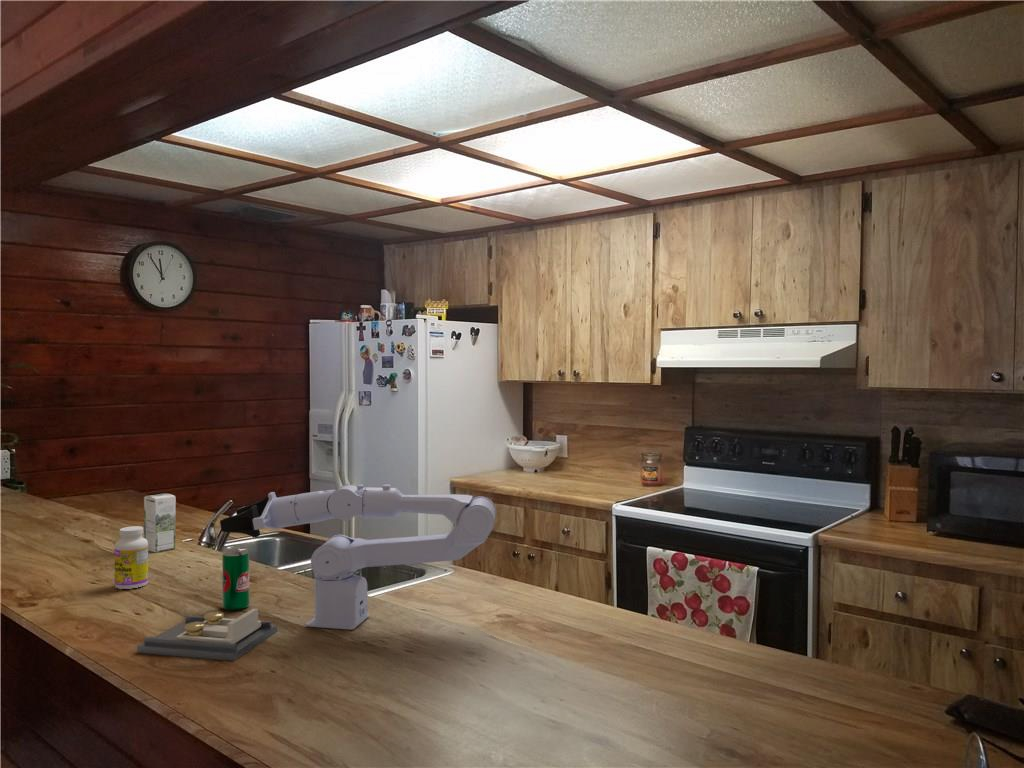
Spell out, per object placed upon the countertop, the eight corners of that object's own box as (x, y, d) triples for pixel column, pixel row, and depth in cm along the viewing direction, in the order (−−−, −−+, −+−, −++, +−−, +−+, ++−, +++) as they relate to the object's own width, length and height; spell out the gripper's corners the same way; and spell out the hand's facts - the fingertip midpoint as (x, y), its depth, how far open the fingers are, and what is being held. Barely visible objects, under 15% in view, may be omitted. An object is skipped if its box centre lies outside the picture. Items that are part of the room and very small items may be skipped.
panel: (261, 626, 134) (261, 607, 134) (229, 646, 124) (229, 625, 124) (211, 622, 136) (211, 603, 136) (176, 642, 126) (176, 621, 126)
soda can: (240, 612, 146) (240, 551, 146) (217, 610, 147) (217, 550, 147) (254, 604, 151) (254, 545, 151) (232, 603, 152) (231, 544, 152)
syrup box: (164, 545, 202) (164, 492, 201) (176, 549, 198) (175, 494, 198) (143, 550, 197) (143, 495, 197) (155, 553, 194) (155, 497, 193)
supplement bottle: (107, 588, 162) (107, 530, 162) (133, 580, 168) (132, 524, 168) (130, 592, 160) (129, 532, 160) (155, 583, 166) (154, 526, 166)
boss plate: (277, 631, 135) (276, 610, 135) (233, 661, 122) (233, 637, 122) (188, 624, 139) (188, 604, 139) (137, 652, 125) (136, 629, 125)
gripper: (307, 480, 147) (240, 491, 148) (283, 497, 133) (209, 509, 133) (313, 515, 148) (246, 525, 148) (290, 535, 134) (217, 547, 134)
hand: (229, 520), depth 141 cm, fingers open, 7 cm apart
